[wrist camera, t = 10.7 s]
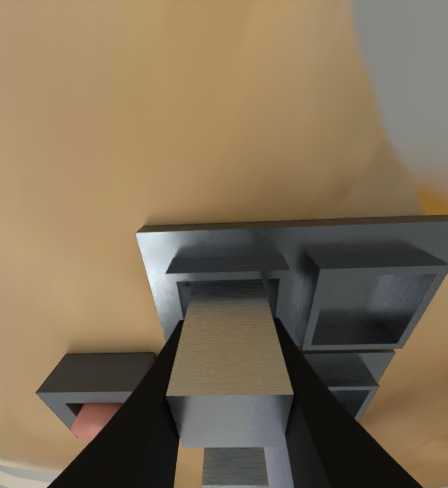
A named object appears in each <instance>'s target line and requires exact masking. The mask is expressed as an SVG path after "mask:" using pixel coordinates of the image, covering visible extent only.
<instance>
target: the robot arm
mask: <svg viewBox="0 0 448 488" xmlns="http://www.w3.org/2000/svg"><path fill="white" fill-rule="evenodd" d="M273 321H274V325H275V329H276V332H277V336H278V339H279V343H280V347H281V350H282V354H283V357H284V361H285V365H286V368H287V372H288V375H289V379H290V383H291V386H292V390H293V393H294V396H293V400H292V404H291V409H290V413H289V417H288V422H287V426H286V430H285V435H284V439H283V443H282V447H264V452H265V456H266V464H267V472H268V480H269V487H270V488H423V487H422V486H421V485H420V484H419V483H418V482H417V481H416V480H415V479H414V478H413V477H411V476H410V475H409V474H408V473H407V472H406V471H405V470H404V469H403V468H402V467H401V466H400V465H399V464H398V463H397V462H396V461H395V460H394V459H393V458H392V457H391V456H390V455H389V454H388V453H387V452H386V451H385V450H384V449H383V448H382V447H381V446H380V445H379V444H378V443H377V441H376V440H375V439H374V438H373V437H372V436H371V435H370V434H369V433H368V432H367V431H366V430H365V429H364V428H363V427H362V426H361V425H360V424H359V423H358V422H357V421H356V419H355V418H354V417H353V416H352V415H351V414H350V413H349V412H348V411H347V409H346V408H345V407H344V406H343V405H342V404H341V403H340V401H339V400H338V399H337V398H336V397H335V396H334V394H333V393H332V392H331V391H330V390H329V388H328V387H327V386H326V385H325V384H324V382H323V381H322V380H321V379H320V377H319V376H318V375H317V373H316V372H315V371H314V369H313V368H312V367H311V365H310V364H309V363H308V361H307V360H306V359H305V357H304V356H303V354H302V353H301V352H300V350H299V349H298V347H297V346H296V344H295V343H294V341H293V340H292V338H291V337H290V335H289V334H288V332H287V330H286V329H285V327H284V325H283V324H282V322H281V320H280V319H279V318H273ZM183 324H184V320H179V321H178V323H177V325H176V327H175V329H174V330H173V332H172V334H171V336H170V337H169V339H168V341H167V342H166V344H165V346H164V347H163V349H162V350H161V352H160V353H159V355H158V357H157V358H156V360H155V361H154V363H153V364H152V366H151V367H150V368H149V370H148V371H147V373H146V374H145V376H144V377H143V378H142V380H141V381H140V383H139V384H138V385H137V387H136V388H135V389H134V391H133V392H132V393H131V395H130V396H129V397H128V398H127V400H126V401H125V402H124V403H123V405H122V406H121V407H120V408H119V410H118V411H117V412H116V413H115V414H114V415H113V417H112V418H111V419H110V420H109V421H108V423H107V424H106V425H105V426H104V427H103V428H102V430H101V431H100V432H99V433H98V434H97V435H96V436H95V437H94V439H93V440H92V441H91V442H90V443H89V444H88V445H87V446H86V447H85V448H84V449H83V450H82V452H81V453H80V454H79V455H78V456H77V457H76V458H75V459H74V460H73V461H72V462H71V463H70V464H69V466H68V467H67V468H66V469H65V470H64V471H63V472H62V473H61V474H60V475H59V476H58V477H57V478H56V479H55V480H54V481H53V482H52V483H51V484H50V485H49V486H48V487H47V488H174V479H175V471H176V463H177V454H178V447H179V439H180V436H179V433H178V430H177V427H176V424H175V421H174V418H173V415H172V412H171V409H170V406H169V404H168V401H167V398H166V394H167V389H168V385H169V381H170V377H171V373H172V369H173V365H174V361H175V357H176V353H177V349H178V344H179V340H180V336H181V332H182V328H183Z"/></svg>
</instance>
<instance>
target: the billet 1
mask: <svg viewBox="0 0 448 488" xmlns="http://www.w3.org/2000/svg"><path fill="white" fill-rule="evenodd" d="M293 396H294V393H293V390H292V386H291V383H290V379H289V375H288V372H287V368H286V365H285V361H284V357H283V354H282V350H281V347H280V343H279V339H278V336H277V332H276V329H275V325H274V321H273V318H272V314H271V310H270V307H269V303H268V300H267V296H266V292H265V289H264V285H263V282H262V279H241V280H207V281H194V283H193V287H192V291H191V295H190V299H189V304H188V308H187V312H186V316H185V320H184V324H183V328H182V332H181V336H180V340H179V344H178V349H177V353H176V357H175V361H174V365H173V369H172V373H171V377H170V381H169V385H168V389H167V394H166V398H167V401H168V404H169V406H170V409H171V412H172V415H173V418H174V421H175V424H176V427H177V430H178V433H179V436H180V438H181V441H182V444H183V447H184V448H197V447H282V443H283V439H284V435H285V430H286V426H287V422H288V417H289V413H290V409H291V404H292V400H293Z"/></svg>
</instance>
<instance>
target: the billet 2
mask: <svg viewBox="0 0 448 488" xmlns="http://www.w3.org/2000/svg"><path fill="white" fill-rule="evenodd" d="M268 487H269V484H268V476H267V468H266V460H265V452H264V447H204V460H203V474H202V488H268Z"/></svg>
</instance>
